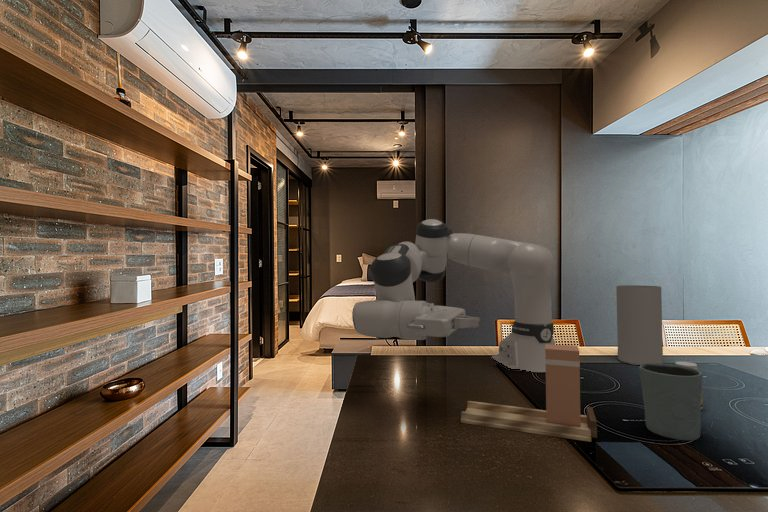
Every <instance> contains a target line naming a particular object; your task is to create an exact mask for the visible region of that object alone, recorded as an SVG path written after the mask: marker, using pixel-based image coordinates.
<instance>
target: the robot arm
mask: <svg viewBox="0 0 768 512" xmlns="http://www.w3.org/2000/svg"><path fill="white" fill-rule="evenodd" d="M415 234H416V236H415V242H414V243H413V242H411V241H402V242H399V243H397V244H393V245H390V246H389V247H388V248H386V249H385V251H384V252H383V253H382V254H380V255H378V256H376V258H375V259H373V261H372V262H371V264H370V265H369V270H370V273H371V277H372V278H371V279H372V281H373V284H374V289H375V290H374V291H375V295H376V298H375V299H374V300H373V299H372V300H364V301H358V302H355V303H354V305H353V307H352V313H351V314H352V316H351V318H352V323H353V324H352V325H353V327H354V330H355V332H356V333H357V334H359V335H363V336H366V337H370V338H371V337H372V338H383V339H389V338H393V337H395V338H399V339H403V340H413V341H414V340H417V341H424V340H425V341H426V339H427V338H428V337H435V338H446V337H447V338H448V337H449V336H450V335H451V334H453V333H454V332H456V331H457V330H458V329H467V328H475V329H476V328H478V327H479V326H480V325H481V318H480V317H477V316H476V317H475V316H470V315H466V310H465V309H464V308H463V307H462V308H461V307H456V306H454V307H453V306H447V305H446V306H445V305H435V304H434V303H433V302H426V300H416V296H415V290H414V284H413V283H414V282H416V281H417V280H418V279H419V280H421V281H423V282H425V283H438V282H439V281H442V280H443V279H444V277H445V276H446V272H447V268H446V266H447V260H448V259H449V260H451V261H454V262H455V263H459V264H461V265H466V266H468V267H473V268H478V269H483V270H488V271H492V272H499V273H506V274H510V277H511V282H512V288H513V289H512V290H513V297H514V321H512V322H511V324H510V325H509V326H510V327H511V333H509V334H508V335H507V336H505V338H503V339H502V340H501V341H500V342H499V344H498V354H497V353H496V354H493V355H492V356H491V359H492V358H493V359H494V360H496V361H498V362H499V363H502V364H504V365H505V366H507V367H508V368H511V369H520V370H519V371H522V370H526V371H525V372H529V371H531V372H530V373H546V364H545V344H552V345H556V340H555V339H554V336H553V335H554V334H555V333H554V332H555V325H554V323H553V318H552V317H553V314H552V313H553V312H552V311H553V309H552V307H553V305H552V300H553V299H552V293H551V287H550V279H549V278H550V277H549V273H550V272H551V270H552V269H553V267H554V261H555V259H554V257H553V254H552V252H551V251H550V250H549V249H548V248H547V247H544V246H543V245H540V244H537V243H532V242H531V243H530V242H529V243H528V242H522V241H518V240H517V241H515V240H510V239H506V238H501V237H500V238H499V237H493V236H486V235H481V234H474V233H468V232H467V233H464V232H459V233H457V232H456V233H454V232H453V230H452V229H451V228H449V226H448V225H447V223H444V222H443V221H442V220H438V219H435V218H430V219H429V218H428V219H424V220H422V221H420V222H419V223H418V224H417V226H416V231H415ZM493 359H492V360H493ZM494 360H493V361H494ZM496 361H495V362H496ZM498 362H497V363H498ZM499 363H498V364H499Z"/></svg>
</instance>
